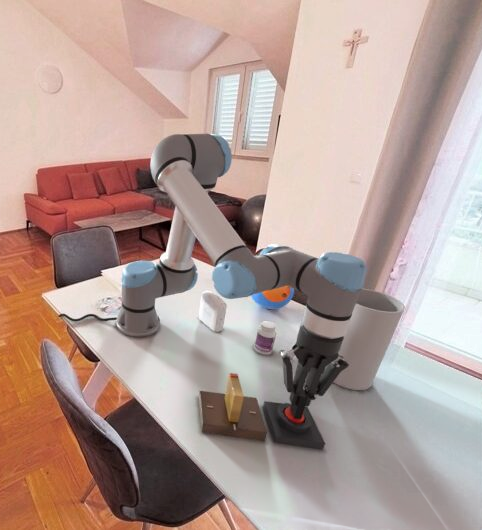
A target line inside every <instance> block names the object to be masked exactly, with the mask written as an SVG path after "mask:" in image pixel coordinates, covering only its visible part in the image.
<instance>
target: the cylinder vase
mask: <svg viewBox="0 0 482 530" xmlns="http://www.w3.org/2000/svg"><path fill="white" fill-rule="evenodd" d="M405 309H406V306H405V305H404V304H403V302H401V301H400V300H399V299H397V298H396V297H393V296H391V295H389V294H386V293H384V292H381V291H377V290H373V289H368V288H364V287H362V290H361V291H360V294H359V297H358V299H357V302H356V304H355V307H354V310H353V312H352V316H351V319H350V322H349V325H348V328H347V331H346V334H345V335H344V339H343V342H342V345H341V348H340V350H339V352H338V354H339V356H343V358H344V359H345V360H346V362H347V363H348V364H349V366H348V367H347V368H346V369H344V370H343V371H341V372H340V374H339V375H338V376H337V378H336V379H335V380H334V382H333V383H332V384H335V385H337V386H339V387H341V388H345V389H349V390H352V391H366V390H368V389H370V388H371V386H373V382H374V380H375V379H376V375H377V373H378V371H379V370H380V366H381V365H382V362H383V360H384V357H385V355H386V353H387V351H388V348H389V347H390V344H391V342H392V339H393V337H394V335H395V332H396V330H397V327H398V325H399V323H400V321H401V319H402V316H403V315H404V314H403V313H404V311H405ZM326 367H327V366H326ZM326 367H325V368H326Z"/></svg>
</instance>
